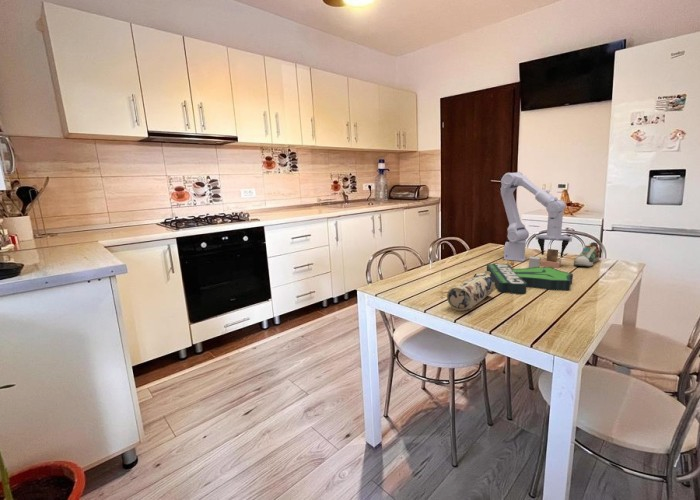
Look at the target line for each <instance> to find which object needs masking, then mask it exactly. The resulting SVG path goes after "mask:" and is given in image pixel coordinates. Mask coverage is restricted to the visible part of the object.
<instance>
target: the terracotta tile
mask: <svg viewBox="0 0 700 500" xmlns="http://www.w3.org/2000/svg"><path fill="white" fill-rule="evenodd" d="M561 265H562V259H559V258H557V262H551V261H547V257H544V258H543V259H542V260H540V267H552V268H554V269H559V268H560V267H561Z"/></svg>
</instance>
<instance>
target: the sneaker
mask: <svg viewBox="0 0 700 500" xmlns="http://www.w3.org/2000/svg"><path fill="white" fill-rule="evenodd" d="M600 252H601V250H600V248H599V244H598V243H597V242H594V241H593V242H591V243H589V244H586V245H584V248H583V249H582V251H581V252H580V254H579V255H577V256H576V257H575V258H574V260H573V264H574V266H578V267H579V266H581V267H593V266H594V263H596V262H598V261H599V259H600ZM593 262H594V263H593Z"/></svg>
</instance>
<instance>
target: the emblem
mask: <svg viewBox="0 0 700 500" xmlns="http://www.w3.org/2000/svg"><path fill="white" fill-rule="evenodd" d="M486 271H489V272H491V274H490V277H491V278H492V279H493V280H494V282H495V286H494V287H495V288H496V289H497V291H498V292H499V293H502V294H503V293H504V294H511V295H525V294H527V288H533V289H542V290H543V289H544V290H549V291H570V290H571V285H572V284H573V278H574V273H572V272H567V271H562V270H560V269H558V268H552V267H543V266H540V267H533V268H529V267H525V268H513V267H512V266H511V265H510V264H508V263H506V264H505V263H487V264H486Z"/></svg>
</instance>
